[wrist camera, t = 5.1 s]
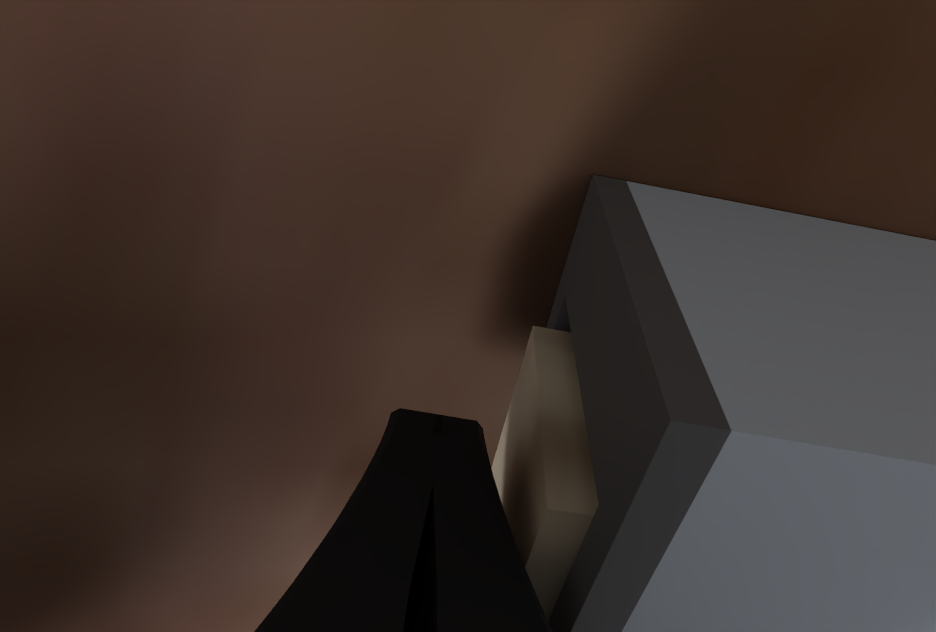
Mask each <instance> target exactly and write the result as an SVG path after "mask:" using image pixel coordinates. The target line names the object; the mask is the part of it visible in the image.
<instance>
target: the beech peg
mask: <svg viewBox="0 0 936 632" xmlns="http://www.w3.org/2000/svg"><path fill="white" fill-rule="evenodd" d="M491 469H492V472H493V476H494V479H495V483H496V486H497V489H498V493H499V496H500V499H501V502H502V506H503V509H504V512H505V514H506V517H507V520H508V523H509V526H510V529H511V531H512V534H513V537H514V539H515V542H516V545H517V548H518V550H519V553H520V556H521V558H522V561H523V564H524V566H525V569H526V571H527V574H528V576H529V579H530V581H531V583H532V586H533V588H534V591H535V593H536V595H537V597H538V600H539V602H540V604H541V607H542V609H543V611H544V614H545V616H546V618H547V620H549V618H550V616H551V614H552V611H553V609H554V607H555V604H556V602H557V600H558V597H559V595H560V593H561V590H562V588H563V586H564V584H565V581H566V579H567V577H568V574H569V572H570V570H571V567H572V565H573V563H574V561H575V558H576V556H577V554H578V551H579V549H580V547H581V544H582V542H583V540H584V537H585V535H586V533H587V531H588V528H589V526H590V524H591V521H592V519H593V517H594V514H595V512H596V510H597V507H598V505H599V504H598V498H597V491H596V485H595V479H594V473H593V466H592V460H591V454H590V448H589V442H588V435H587V429H586V423H585V417H584V410H583V404H582V398H581V392H580V385H579V379H578V373H577V367H576V361H575V354H574V348H573V342H572V336H571V332H566V331H560V330H555V329H549V328H543V327H538V326H533V327H532V330H531V334H530V337H529V341H528V344H527V348H526V351H525V354H524V358H523V361H522V365H521V368H520V372H519V375H518V379H517V382H516V385H515V389H514V392H513V396H512V399H511V403H510V406H509V410H508V413H507V416H506V420H505V423H504V427H503V430H502V434H501V437H500V441H499V444H498V447H497V451H496V454H495V458H494V461H493V465H492V468H491Z"/></svg>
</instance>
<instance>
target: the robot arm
mask: <svg viewBox="0 0 936 632" xmlns="http://www.w3.org/2000/svg"><path fill="white" fill-rule="evenodd" d="M254 632H553V631H552V629H551V627H550V625H549V623H548V620H547V618H546V616H545V614H544V611H543V609H542V607H541V604H540V602H539V600H538V597H537V595H536V593H535V591H534V588H533V586H532V583H531V581H530V579H529V576H528V574H527V571H526V569H525V566H524V564H523V561H522V558H521V556H520V553H519V550H518V548H517V545H516V542H515V539H514V537H513V534H512V531H511V529H510V526H509V523H508V520H507V517H506V514H505V512H504V509H503V506H502V502H501V499H500V496H499V493H498V489H497V486H496V483H495V479H494V476H493V472H492V469H491V465H490V461H489V457H488V453H487V448H486V444H485V439H484V433H483V428H482V427H481V425H480V424H479V423H478V422H477V421H474V420H468V419H462V418H456V417H450V416H444V415H438V414H432V413H426V412H419V411H413V410H407V409H401V408H400V409H398V410H396V411H394V412H392V413H391V415H390V418H389V421H388V425H387V427H386V430H385V432H384V435H383V437H382V440H381V442H380V444H379V446H378V448H377V450H376V452H375V455H374V457H373V458H372V460H371V462H370V464H369V466H368V468H367V470H366V472H365V473H364V475H363V477H362V479H361V481H360V482H359V484H358V486H357V487H356V489H355V491H354V492H353V494H352V495H351V497H350V499H349V500H348V502H347V504H346V505H345V507H344V509H343V510H342V512H341V513H340V515H339V517H338V518H337V520H336V522H335V523H334V525H333V526H332V528H331V529H330V531H329V532H328V534H327V535H326V536H325V538H324V539H323V541H322V542H321V544H320V545H319V546H318V548H317V549H316V551H315V552H314V554H313V555H312V556H311V558H310V559H309V561H308V562H307V563H306V565H305V566H304V568H303V569H302V571H301V572H300V573H299V575H298V576H297V578H296V579H295V580H294V582H293V583H292V584H291V586H290V587H289V588H288V590H287V591H286V592H285V594H284V595H283V596H282V598H281V599H280V600H279V601H278V603H277V604H276V605H275V607H274V608H273V609H272V610H271V612H270V613H269V614H268V615H267V617H266V618H265V619H264V620H263V622H262V623H261V624H260V625H259V627H258V628H257V629H256V630H255V631H254Z"/></svg>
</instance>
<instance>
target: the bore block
mask: <svg viewBox="0 0 936 632" xmlns="http://www.w3.org/2000/svg"><path fill="white" fill-rule="evenodd" d="M546 328H549V329H555V330H560V331H566V332H571V336H572V342H573V348H574V354H575V361H576V367H577V373H578V379H579V385H580V392H581V398H582V404H583V410H584V417H585V423H586V429H587V435H588V442H589V448H590V454H591V460H592V466H593V473H594V479H595V485H596V491H597V498H598V504H599V505H598V507H597V510H596V512H595V514H594V517H593V519H592V521H591V524H590V526H589V528H588V531H587V533H586V535H585V537H584V540H583V542H582V544H581V547H580V549H579V551H578V554H577V556H576V558H575V561H574V563H573V565H572V567H571V570H570V572H569V574H568V577H567V579H566V581H565V584H564V586H563V588H562V590H561V593H560V595H559V597H558V600H557V602H556V604H555V607H554V609H553V611H552V614H551V616H550V618H549V620H548V623H549V625H550V627H551V629H552V631H553V632H936V241H934V240H929V239H924V238H918V237H913V236H908V235H903V234H898V233H893V232H887V231H882V230H877V229H872V228H867V227H862V226H856V225H851V224H846V223H841V222H836V221H831V220H825V219H820V218H815V217H810V216H805V215H800V214H794V213H789V212H784V211H779V210H774V209H769V208H763V207H758V206H753V205H748V204H743V203H738V202H732V201H727V200H722V199H717V198H712V197H707V196H701V195H696V194H691V193H686V192H681V191H676V190H670V189H665V188H660V187H655V186H650V185H645V184H639V183H634V182H629V181H624V180H619V179H614V178H608V177H603V176H598V175H592V178H591V181H590V184H589V188H588V191H587V194H586V198H585V201H584V204H583V208H582V211H581V214H580V217H579V221H578V224H577V227H576V231H575V234H574V237H573V240H572V244H571V247H570V250H569V254H568V257H567V260H566V263H565V267H564V270H563V273H562V277H561V280H560V283H559V286H558V290H557V293H556V296H555V300H554V303H553V306H552V309H551V313H550V316H549V319H548V323H547V326H546Z"/></svg>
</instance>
